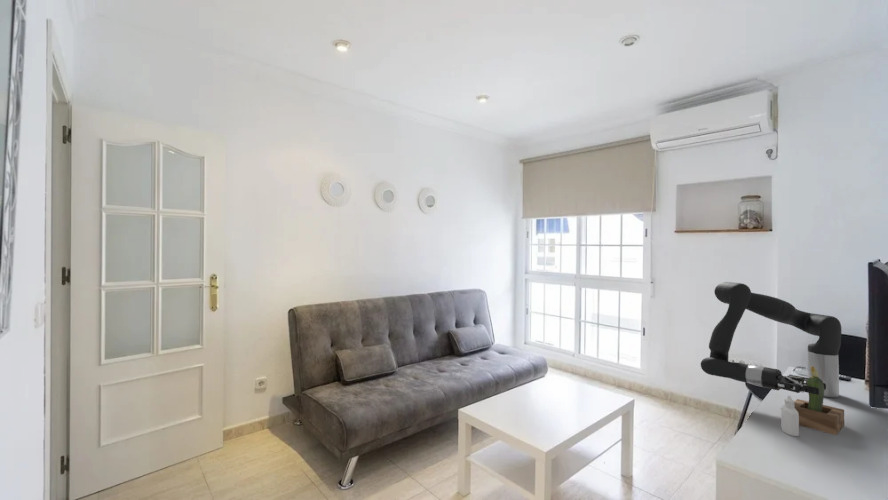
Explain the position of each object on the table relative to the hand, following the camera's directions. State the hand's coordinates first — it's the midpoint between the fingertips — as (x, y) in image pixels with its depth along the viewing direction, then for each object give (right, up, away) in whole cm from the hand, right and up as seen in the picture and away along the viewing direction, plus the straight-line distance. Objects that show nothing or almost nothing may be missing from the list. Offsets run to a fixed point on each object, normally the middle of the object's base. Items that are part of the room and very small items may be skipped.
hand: (822, 389), depth 131 cm
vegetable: (-1, -13, +1) cm, 13 cm away
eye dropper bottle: (-16, -13, -5) cm, 21 cm away
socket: (-1, -13, +1) cm, 13 cm away
